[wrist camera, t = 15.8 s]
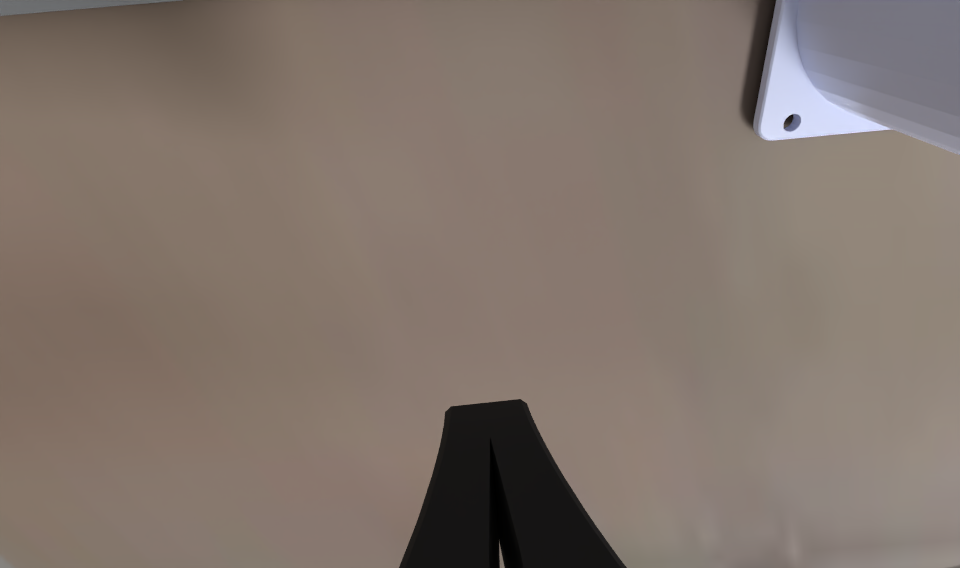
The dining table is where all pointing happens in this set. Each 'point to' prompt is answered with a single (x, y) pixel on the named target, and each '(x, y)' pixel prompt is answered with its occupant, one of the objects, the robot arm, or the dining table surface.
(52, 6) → the mat
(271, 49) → the dining table surface
